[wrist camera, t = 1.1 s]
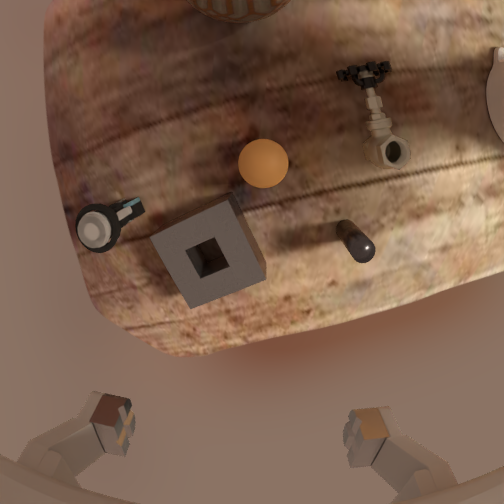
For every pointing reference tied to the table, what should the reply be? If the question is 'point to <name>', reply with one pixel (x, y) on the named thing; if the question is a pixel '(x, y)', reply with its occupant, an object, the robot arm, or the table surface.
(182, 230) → the bore block
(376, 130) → the valve
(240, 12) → the vase
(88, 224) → the push button
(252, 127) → the table surface
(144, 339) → the table surface
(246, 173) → the orange rounded tapered piece
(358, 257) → the cylinder
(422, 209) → the table surface
